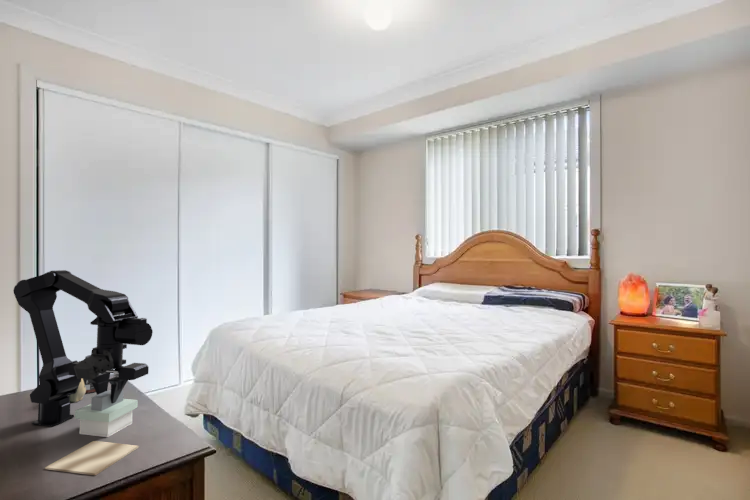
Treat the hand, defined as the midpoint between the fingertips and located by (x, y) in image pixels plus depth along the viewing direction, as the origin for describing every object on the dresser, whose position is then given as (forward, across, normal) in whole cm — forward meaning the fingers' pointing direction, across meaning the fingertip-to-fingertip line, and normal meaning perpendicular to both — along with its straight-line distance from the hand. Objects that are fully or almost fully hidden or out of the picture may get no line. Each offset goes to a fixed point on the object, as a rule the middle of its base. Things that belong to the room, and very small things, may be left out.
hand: (107, 402), depth 102 cm
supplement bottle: (+7, -27, +23) cm, 36 cm away
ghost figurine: (+7, -25, +15) cm, 30 cm away
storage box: (+7, 0, 0) cm, 7 cm away
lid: (+3, 0, 0) cm, 3 cm away
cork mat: (+7, +9, -13) cm, 17 cm away
